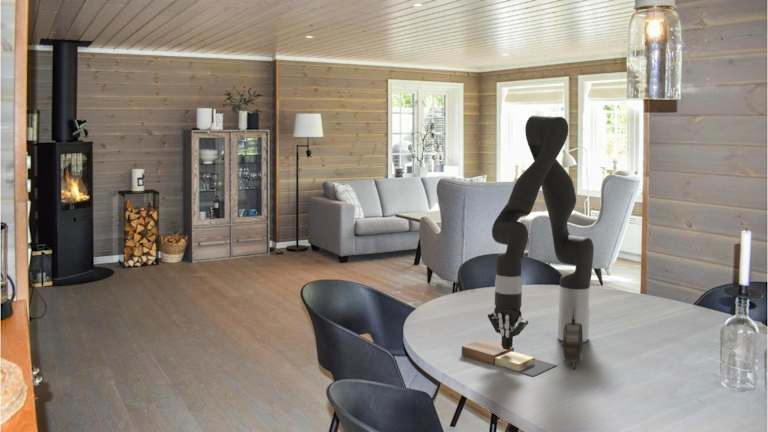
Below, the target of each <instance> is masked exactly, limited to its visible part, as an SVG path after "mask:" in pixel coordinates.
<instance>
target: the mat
mask: <svg viewBox="0 0 768 432" xmlns="http://www.w3.org/2000/svg"><path fill="white" fill-rule="evenodd" d="M493 366H495V367H500V368H503V369H506V370H510V371H512V372H516V373H520V374H522V375H526V376H529V377H536V376H538V375H540V374H543V373H546V372H547V371H549V370H551V369H553V368H556V367H557V366H558V364H555V363H552V362H551V363H550V362H547V361H543V360H540V359H537V358H535V364H534V365H531V366H529V367H527V368H525V369H523V370H521V371H516V370H513V369H509V368H506V367H502V366H499V365H495V364H494V365H493Z"/></svg>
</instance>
